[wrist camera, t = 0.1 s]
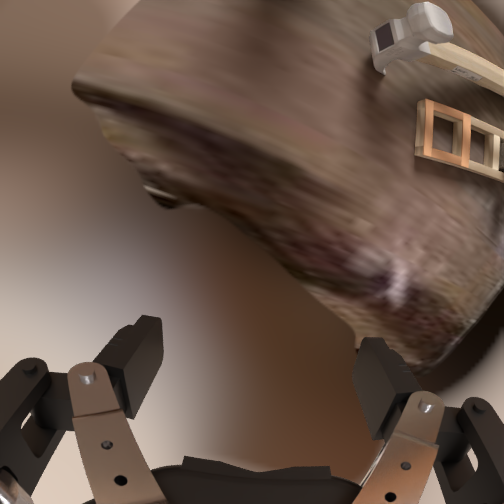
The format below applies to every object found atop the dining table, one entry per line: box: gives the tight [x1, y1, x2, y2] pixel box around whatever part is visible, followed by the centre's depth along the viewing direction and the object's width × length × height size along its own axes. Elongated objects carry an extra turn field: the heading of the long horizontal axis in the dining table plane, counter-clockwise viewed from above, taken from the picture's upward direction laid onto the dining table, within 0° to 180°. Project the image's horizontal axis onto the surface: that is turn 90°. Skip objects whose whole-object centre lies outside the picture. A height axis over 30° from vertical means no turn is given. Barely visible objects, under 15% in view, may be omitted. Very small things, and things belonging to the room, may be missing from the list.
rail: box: [414, 99, 504, 183], centre depth 33 cm, size 8×22×3 cm, turn 85°
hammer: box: [369, 2, 504, 97], centre depth 27 cm, size 16×5×30 cm
